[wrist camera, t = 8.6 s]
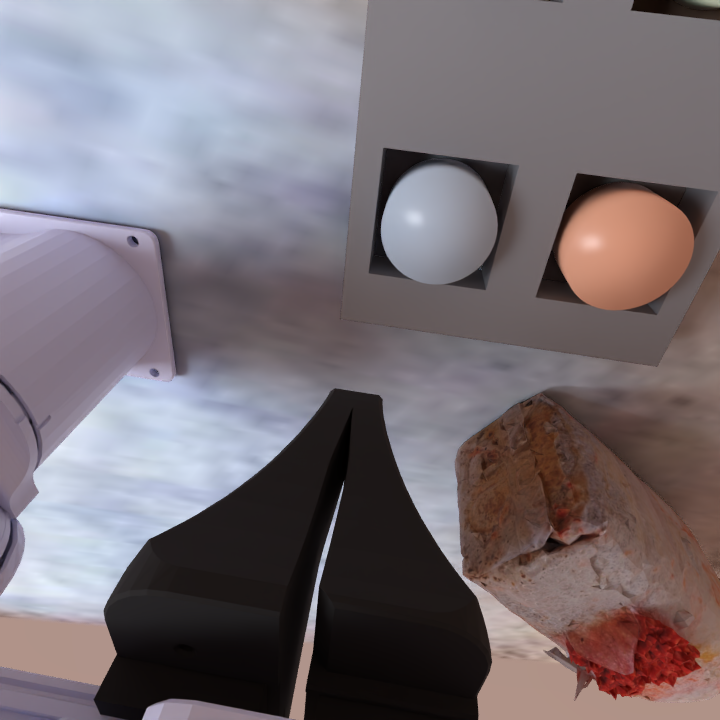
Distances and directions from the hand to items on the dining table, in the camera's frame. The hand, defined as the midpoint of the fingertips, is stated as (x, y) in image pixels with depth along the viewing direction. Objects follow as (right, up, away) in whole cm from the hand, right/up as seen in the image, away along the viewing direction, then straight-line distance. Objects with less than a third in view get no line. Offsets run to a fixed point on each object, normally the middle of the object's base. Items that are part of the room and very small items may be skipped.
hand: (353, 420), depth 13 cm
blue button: (+3, +7, +5) cm, 10 cm away
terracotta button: (+10, +6, +5) cm, 13 cm away
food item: (+12, -5, +13) cm, 19 cm away
